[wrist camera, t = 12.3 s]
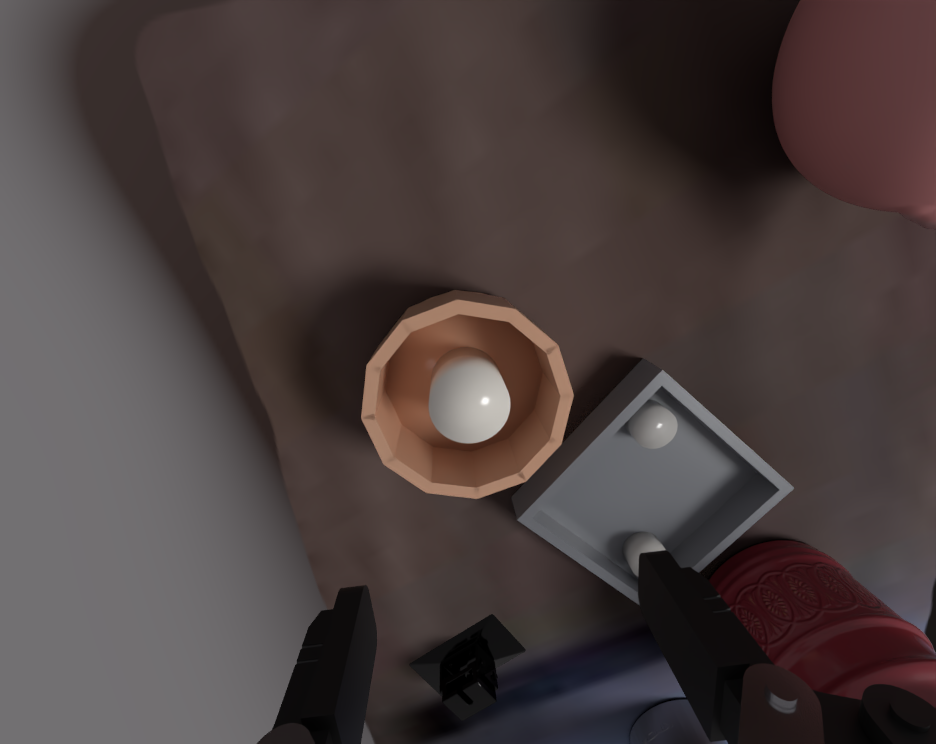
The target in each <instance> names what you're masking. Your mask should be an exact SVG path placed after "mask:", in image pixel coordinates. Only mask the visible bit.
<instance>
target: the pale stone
mask: <svg viewBox="0 0 936 744" xmlns="http://www.w3.org/2000/svg"><path fill="white" fill-rule="evenodd" d="M509 413H510V396H509V393H508V390H507V388H506V385H505V383H504V381H503V378H502V376H501V374H500V371H499V369H498V367H497V365H496V363H495V361H494V360H493V359H492V358H491V357H490V356H489V355H488V354H487V353H485V352H484V351H482V350H480V349H477V348H473V347H460V348H456V349H453V350H450V351H448V352H447V353H445V354H444V355H443V356H441V358H440V359H439V360H438V361H437V362H436V364H435V366H434V368H433V371H432V374H431V384H430V395H429V414H430V417H431V420H432V422H433V424H434V426H435V427H436V429H437V430H438V431H439V432H440V433H441V434H443V435H444V436H445V437H447V438H449V439H451V440H453V441H456V442H460V443H478V442H481V441H484V440H487V439H489V438H491V437H492V436H494V435H495V434H496V433H497V432H499V431H500V430H501V428H502V427H503V426H504V424H505V423H506V421H507V419H508V416H509Z"/></svg>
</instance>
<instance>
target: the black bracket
mask: <svg viewBox="0 0 936 744" xmlns="http://www.w3.org/2000/svg"><path fill="white" fill-rule="evenodd" d="M525 651H526V650H525V648H524V647H523V646H522V645H521V644H520V643H519V642H518V641H517V640H516V639H515V638H514V637H513V635H512V634H511V633H510V632H509V631H508V630H507V629H506V628H505V627H504V626H503V625H502V624H501V622H500V621H499V620H498V619H497V618H496V617H495V616H494V615H493V614H491V615H489V616H488V617H486V618H484V619H483V620H481V621H479V622H478V623H476V624H474V625H473V626H471V627H470V628H468V629H466V630H465V631H463V632H461V633H460V634H458V635H456V636H455V637H453V638H451V639H450V640H448V641H446V642H445V643H443V644H442V645H440V646H438V647H437V648H435V649H433V650H432V651H430V652H428V653H427V654H425V655H423V656H422V657H420V658H418V659H417V660H415V661H414V662H412V663H410V666H411V667H412V668H413V669H414V670H415V671H416V672H417V673H418V674H419V675H420V676H421V677H422V678H423V679H424V680H425V681H426V682H427V683H428V684H429V685H430V686H432V687H433V688H434V689H435V690H436V691H437V692H438V693H439V694H440V695H441V696H442V702H443V703H444V704H445V705H446V706H447V707H448V708H449V709H450V710H451V711H452V712H453V713H454V714H455V715H456V716H457V717H458V718H459V719H461V720H462V721H463V720H465V719H467V718H468V717H470V716H472V715H474V714H475V713H477V712H479V711H481V710H482V709H484V708H486V707H488V706H489V705H491V704H493V703H495V702H496V693H495V690H497V689H498V684H497V678H498V677H497V674H496V668H497V667H499V666H501V665H502V664H504V663H506V662H508V661H509V660H511V659H513V658H514V657H516V656H518V655H520V654H521V653H523V652H525Z"/></svg>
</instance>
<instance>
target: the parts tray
mask: <svg viewBox="0 0 936 744" xmlns="http://www.w3.org/2000/svg"><path fill="white" fill-rule="evenodd" d="M648 399H650V400H655V401H657V402H659V403H660V404H661V405H662V406H664V407H665V408H666V409H667V410H669V411H670V412H671V413H672V414H673V415H674V416H675V417H676V420H677V424H678V427H677V432H676V434H675V436H674V438H673V439H672V440H671V441H670V442H669V443H668V444H666V445H665V446H663V447H660V448H656V449H649V448H645V447H643V446H641V445H640V444H639V443H638V442H637V441H636V440H635V439H634V438H633V437H632V436H631V435H630V434H629V433H628V431H627V430H626V428H625V423H626V422H627V421H628V420H629V419H630V418H631V417H632V416H633V415H634V414H635V413H636V412H637V411H638V410H639V408H640V407H641V406H642V405H643V404H644V403H645V402H646V401H647V400H648ZM793 489H794V487H793V486H792V485H790V484H789V483H788V482H787V481H786V480H785V479H784V478H783V477H781V476H780V475H779V474H778V473H777V472H776V471H775V470H774V469H773V468H771V467H770V466H769V465H768V464H767V463H766V462H765V461H764V460H763V459H761V458H760V457H759V456H758V455H757V454H756V453H755V452H754V451H753V450H751V449H750V448H749V447H748V446H747V445H746V444H745V443H744V442H742V441H741V440H740V439H739V438H738V437H737V436H736V435H735V434H734V433H732V432H731V431H730V430H729V429H728V428H727V427H726V426H725V425H724V424H722V423H721V422H720V421H719V420H718V419H717V418H716V417H715V416H713V415H712V414H711V413H710V412H709V411H708V410H707V409H706V408H705V407H703V406H702V405H701V404H700V403H699V402H698V401H697V400H696V399H695V398H693V397H692V396H691V395H690V394H689V393H688V392H687V391H686V390H684V389H683V388H682V387H681V386H680V385H679V384H678V383H677V382H676V381H674V380H673V379H672V378H671V377H670V376H669V375H668V374H667V373H666V372H664V371H663V370H662V369H660V368H659V367H657V366H655V365H654V364H652V363H650V362H649V361H647V360H645V359H642V360H641V361H640V362H639V363H638V364H637V365H636V366H635V367H634V368H633V369H632V370H631V371H630V372H629V374H628V375H627V376H626V377H625V378H624V379H623V380H622V381H621V382H620V383H619V384H618V385H617V386H616V387H615V388H614V389H613V390H612V391H611V392H610V394H609V395H608V396H607V397H606V398H605V399H604V400H603V401H602V402H601V403H600V404H599V405H598V406H597V407H596V408H595V409H594V410H593V411H592V412H591V414H590V415H589V416H588V417H587V418H586V419H585V420H584V421H583V422H582V423H581V424H580V425H579V426H578V427H577V428H576V429H575V430H574V431H573V432H572V434H571V435H570V436H569V437H568V438H567V439H566V440H565V441H564V442H563V443H562V444H561V445H560V446H559V448H558V449H557V450H556V451H555V452H554V453H553V454H552V455H551V456H550V457H549V458H548V459H547V460H546V461H545V462H544V463H543V464H542V465H541V466H540V468H539V469H538V470H537V471H536V472H535V473H534V474H533V475H532V476H531V477H530V478H529V479H528V480H527V481H526V482H525V483H524V484H523V485H522V486H521V487H520V488H519V489H518V490H517V491H516V492H515V494H514V495H513V496H512V497H511V499H512V503H513V506H514V510H515V514H516V518H517V520H518V521H519V522H521V523H522V524H523V525H525V526H526V527H528V528H529V529H531V530H532V531H533V532H535V533H536V534H538V535H539V536H541V537H542V538H543V539H545V540H546V541H548V542H549V543H551V544H552V545H554V546H555V547H556V548H558V549H559V550H561V551H562V552H564V553H565V554H566V555H568V556H569V557H571V558H572V559H574V560H575V561H577V562H578V563H579V564H581V565H582V566H584V567H585V568H587V569H588V570H589V571H591V572H592V573H594V574H595V575H597V576H598V577H599V578H601V579H602V580H604V581H605V582H607V583H608V584H610V585H611V586H612V587H614V588H615V589H617V590H618V591H620V592H621V593H622V594H624V595H625V596H627V597H628V598H630V599H631V600H632V601H634V602H635V603H637V604H638V605H640V604H639V599H638V576H636V575H635V574H634V573H633V571H632V569H631V568H630V566H629V564H628V562H627V561H626V559H625V557H624V555H623V552H622V547H623V544H624V542H625V541H626V539H627V538H628V537H630V536H631V535H633V534H635V533H638V532H650V533H652V534H654V535H655V536H656V537H657V538H658V539H659V541H660V542H661V544H662V545H663V546H664V548H665V549H666V550H667V551H668V552H669V553H670V554H671V555H672V556H673V558H674V559H675V561H676V562H677V563H678V565H679V566H680V567H681V568H685V567H691V568H692V569H694V570H695V571H697V572H698V573H699V572H700V571H701V570H703V569H704V568H705V567H706V566H707V565H708V564H709V563H710V562H712V561H713V560H714V559H715V558H716V557H717V556H718V555H720V554H721V553H722V552H723V551H724V550H725V549H726V548H727V547H729V546H730V545H731V544H732V543H733V542H734V541H735V540H736V539H738V538H739V537H740V536H741V535H742V534H743V533H744V532H745V531H747V530H748V529H749V528H750V527H751V526H752V525H753V524H754V523H756V522H757V521H758V520H759V519H760V518H761V517H762V516H764V515H765V514H766V513H767V512H768V511H769V510H770V509H771V508H773V507H774V506H775V505H776V504H777V503H778V502H779V501H780V500H782V499H783V498H784V497H785V496H786V495H787V494H788V493H789V492H791V491H792V490H793Z"/></svg>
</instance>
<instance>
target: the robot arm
mask: <svg viewBox="0 0 936 744" xmlns="http://www.w3.org/2000/svg"><path fill="white" fill-rule="evenodd" d="M638 599H639V604H640V608H641V611H642V614H643V616H644V619H645V621H646V622H647V624H648V626H649V628H650V630H651V632H652V634H653V636H654V638H655V639H656V641H657V643H658V645H659V647H660V649H661V651H662V653H663V654H664V656H665V658H666V660H667V662H668V664H669V666H670V668H671V669H672V671H673V673H674V675H675V677H676V679H677V681H678V683H679V685H680V686H681V688H682V690H683V692H684V694H685V696H686V698H687V700H674V701H668V702H665V703H662V704H659V705H657V706H655V707H653V708H651V709H650V710H648V711H647V712H645V713H644V714H643V715H642V716H641V717H640V718H639V719H638V720H637V721H636V723H635V724H634V726H633V728H632V730H631V733H630V743H631V744H936V708H935V707H933V706H932V705H931V704H930V703H928V702H927V701H925V700H924V699H922V698H920V697H919V696H917V695H915V694H913V693H911V692H909V691H907V690H904V689H902V688H899V687H896V686H892V685H887V684H874V685H871V686H868V687H867V688H866V689H865V690H864V692H863V695H862V699H861V700H860V699H854V698H849V697H844V696H838V695H833V694H827V693H823V692H819V691H815V690H812V689H811V688H810V687H809V686H808V685H807V684H806V683H805V682H804V681H803V680H802V679H801V678H799V677H798V676H797V675H795V674H794V673H792V672H790V671H788V670H786V669H784V668H782V667H779V666H776V665H774V663H773V662H772V661H771V660H770V659H769V657H768V656H767V655H766V653H765V652H764V651H763V650H762V648H761V647H760V646H759V645H758V643H757V642H756V641H755V639H754V638H753V637H752V636H751V634H750V633H749V632H748V630H747V629H746V628H745V627H744V625H743V624H742V623H741V621H740V620H739V619H738V618H737V616H736V615H735V614H734V612H731V610H730V607H729V606H728V605H727V603H726V602H725V601H724V600H723V598H722V599H721V597H720V595H719V593H718V592H717V591H716V589H715V588H714V587H713V586H712V584H711V583H710V582H709V580H708V579H706V578H705V577H704V576H702V575H701V574H699V573H698V572H697V571H695V570H694V569H692V568H691V567H685V568H681V567H680V566H679V565H678V563H677V562H676V561H675V559H674V558H673V556H672V555H671V554H670V553H669V552H668V551H667V550H662V551H654V552H646V553H641V554H640V555H639V571H638ZM376 647H377V630H376V623H375V618H374V613H373V608H372V604H371V599H370V594H369V589H368V587H367V586H366V585H364V586H356V587H347V588H341V589H340V590H339V592H338V595H337V598H336V602H335V605H334V608H333V609H331V610H324V611H321V612H320V613H319V614H318V616H317V617H316V619H315V620H314V621H313V622H312V623H311V625H310V626H309V627H308V630H307V633H306V636H305V639H304V642H303V644H302V649H301V650H300V653H299V656H298V659H297V664H296V665H295V667H294V670H293V673H292V676H291V679H290V682H289V684H288V687H287V690H286V693H285V696H284V699H283V702H282V704H281V707H280V710H279V713H278V716H277V719H276V721H275V724H274V727H273V729H272V730H271V731H270V732H268V733H267V734H266V735H265V736H264V737H263V738H262V739H261V740H260V741H259V742H258V743H257V744H361V738H362V733H363V726H364V720H365V714H366V708H367V702H368V696H369V690H370V684H371V678H372V672H373V666H374V660H375V654H376Z"/></svg>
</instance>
